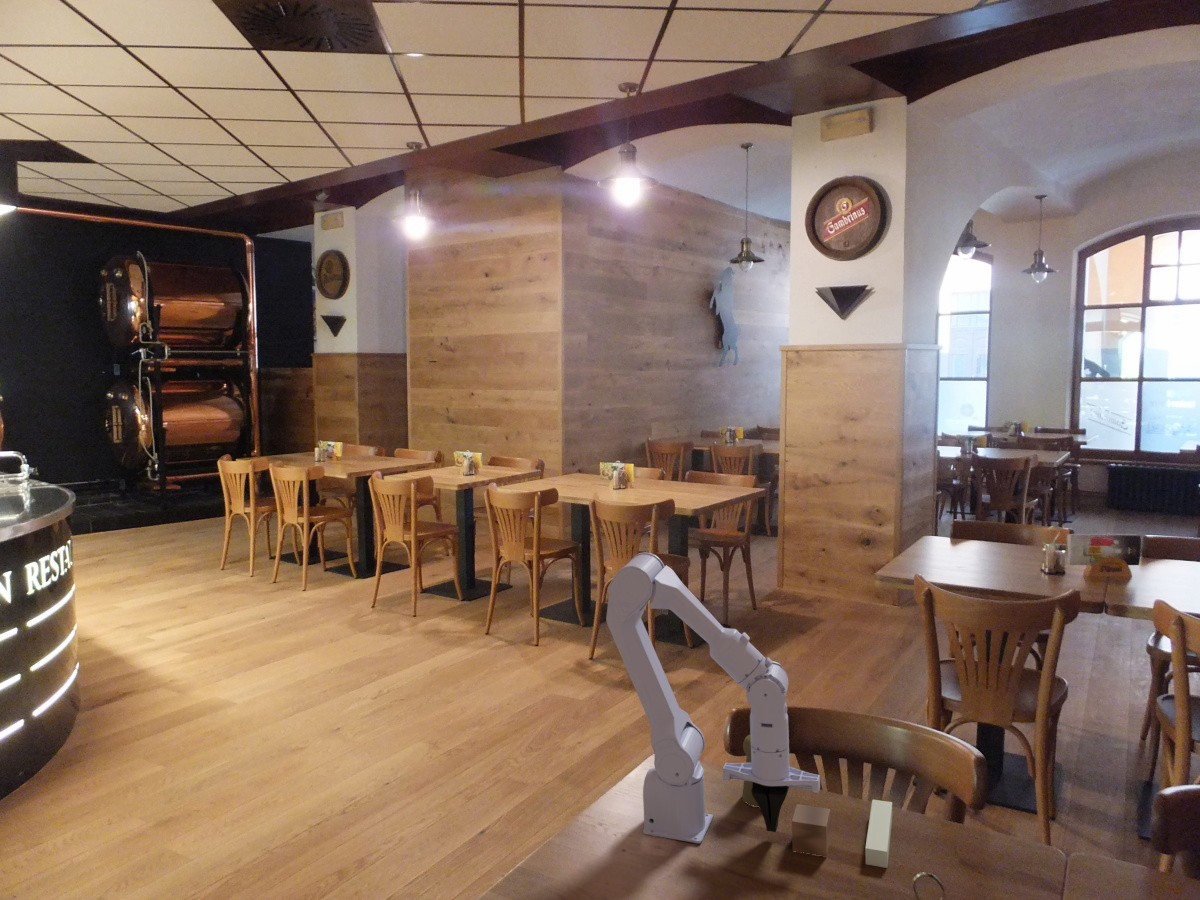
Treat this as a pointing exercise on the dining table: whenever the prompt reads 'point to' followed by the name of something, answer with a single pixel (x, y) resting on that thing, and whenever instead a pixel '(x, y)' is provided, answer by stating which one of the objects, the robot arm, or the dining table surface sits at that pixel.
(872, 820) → the cream rectangular bar
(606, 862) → the dining table surface
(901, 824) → the dining table surface
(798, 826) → the walnut block
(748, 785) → the cork
